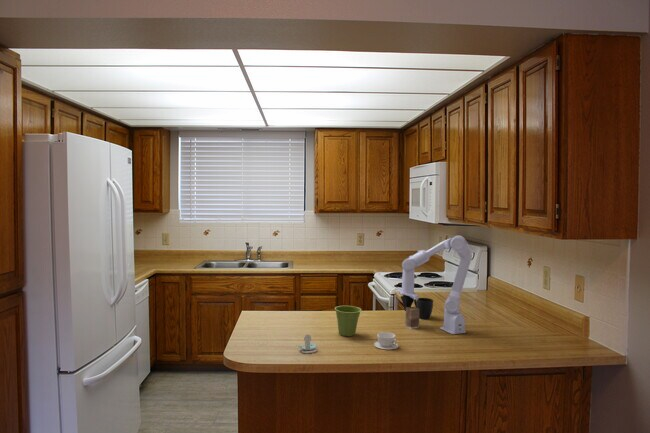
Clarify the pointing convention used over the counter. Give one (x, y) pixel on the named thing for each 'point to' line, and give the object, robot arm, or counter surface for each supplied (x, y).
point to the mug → (424, 307)
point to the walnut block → (412, 317)
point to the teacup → (386, 341)
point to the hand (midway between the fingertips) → (407, 311)
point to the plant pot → (347, 319)
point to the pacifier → (308, 345)
